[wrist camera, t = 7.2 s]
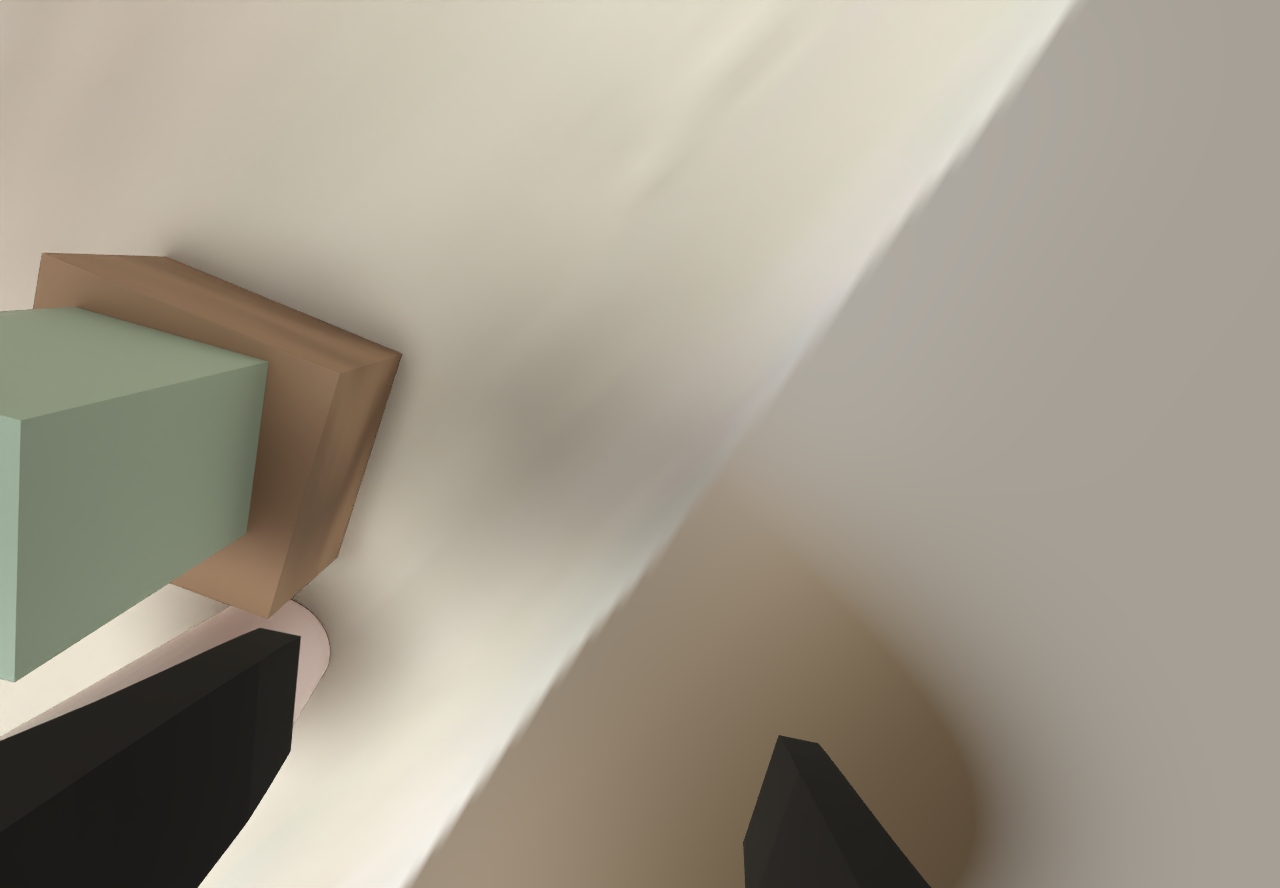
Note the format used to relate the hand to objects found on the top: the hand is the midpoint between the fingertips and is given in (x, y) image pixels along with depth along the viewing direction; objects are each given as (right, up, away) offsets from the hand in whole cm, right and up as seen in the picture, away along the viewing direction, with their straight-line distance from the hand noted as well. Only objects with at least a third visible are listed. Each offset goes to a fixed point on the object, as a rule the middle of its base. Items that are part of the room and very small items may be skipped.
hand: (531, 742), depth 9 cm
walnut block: (-10, +5, +10) cm, 15 cm away
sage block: (-10, +5, +6) cm, 12 cm away
